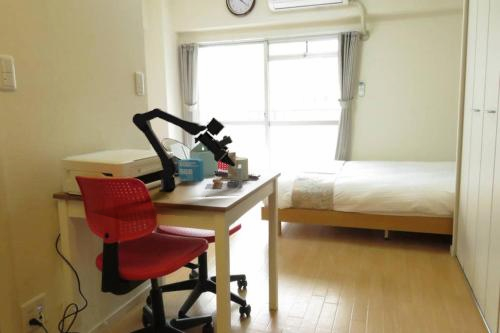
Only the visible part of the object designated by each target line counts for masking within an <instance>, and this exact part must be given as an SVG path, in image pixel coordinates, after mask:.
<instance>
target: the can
mask: <svg viewBox="0 0 500 333" xmlns="http://www.w3.org/2000/svg"><path fill="white" fill-rule="evenodd" d="M238 164H242V182H243V181H248V180H249V158H248V157H236V172H237V178H230V179H231V180H230V181H238Z"/></svg>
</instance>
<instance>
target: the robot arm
mask: <svg viewBox="0 0 500 333" xmlns="http://www.w3.org/2000/svg"><path fill="white" fill-rule="evenodd" d="M157 118H158V119H161V120H163V121H165V122H168V123H170V124H172V125H175V126H176V127H180V128H181V129H182V130H184V131H185V133H187V134H189V135H191V136H195V137H194V144H196V145H197V143H198V142H199V143H200V142H201V143H202V144H203V145H204V146H205V147H206V148H207V150H208V151H210V152H212V153H213V154H214V160H215V161H216V162H219V163H222V164H226V165H227V164H228V165H231V166H233V167H234V166H235V164H234V162H233V161H232V160H231V159H230V157H229V156H228V152H230V150H229V147H228V145H229V144H232V143H233V141H234V140H232V138H231V136H230V135H224V136H222V139H220V140H219V139H215V138H214V136H218V135H219V134H220V133H221V131H222V130H223V129H225V128H226V126H225V125H224V124H223V123H222V122H221V121H219V120H218V119H216V118H215V117H212V118H211V120H210V121H209V122H208V123H207V125H206V124H205V125H204V124H200V123H198V122H196V121H192V120H188V119H187V120H186V119H183V118H181V117H179V116H176V115H174V114H172V113H169V112H167V111H166V110H165V111H164V110H163V109H162V108H154V109H152V110H149V111H146V112H140V113H138V112H137V113H135V114H134V115H133V116H132V123H133V124H134V125H135V127H137V129H138V130H139V131H141V132H142V133H143V134H144V136H145V137H146V140H147V141H148V142H149V144H150V145H151V147H152V148H153V151H155V153H156V155H157V157H158V158H159V160H160V164H161V168H162V169H163V170H162V171H161V173H160V174H158V175H159V177H160V183H161V184H160V185H161V188H159V189H158V190H159V191H162V192H167V193H168V192H172V191H174V190H176V180H175V176H174V175H175V173H176V172H178V171H179V167H178V162H179V161H177V160H176V158H175V156H174V155H173V156H171V155H169V154H168V152H167V151H166V149H165V148H164V145H163V144H162V142H161V141H160V139H159V138H158V136H157V135H156V133H155V131H154V129H153V127H152V124H151V121H152V120H154V119H157ZM205 130H206V131H205ZM202 132H204V133H202ZM197 135H198V136H197ZM196 136H197V137H196Z"/></svg>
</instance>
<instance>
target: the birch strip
mask: <svg viewBox="0 0 500 333" xmlns="http://www.w3.org/2000/svg"><path fill="white" fill-rule="evenodd" d="M236 153H237V152H236V151H229V152H228V156H229V157H230V159H231V160H232V161H233V162H234V164H235V166H234V167H233V166H231V165H228V164H226V165H227V166H226V167H227V178H228V179H231V178H237V172H236V158H237V154H236Z"/></svg>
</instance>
